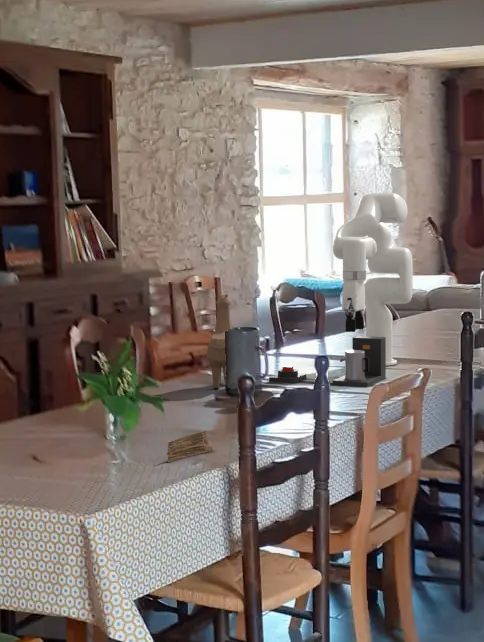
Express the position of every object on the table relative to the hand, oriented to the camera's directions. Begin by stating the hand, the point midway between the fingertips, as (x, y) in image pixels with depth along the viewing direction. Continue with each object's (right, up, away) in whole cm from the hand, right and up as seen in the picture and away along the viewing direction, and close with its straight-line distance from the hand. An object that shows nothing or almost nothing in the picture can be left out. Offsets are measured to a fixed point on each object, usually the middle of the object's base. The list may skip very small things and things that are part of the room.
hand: (354, 329), depth 383 cm
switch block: (-21, -17, +10) cm, 29 cm away
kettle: (0, -16, +2) cm, 16 cm away
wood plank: (-53, -29, -99) cm, 116 cm away
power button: (-21, -14, +10) cm, 27 cm away
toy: (-43, -19, 0) cm, 47 cm away
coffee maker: (+2, -17, +6) cm, 18 cm away
